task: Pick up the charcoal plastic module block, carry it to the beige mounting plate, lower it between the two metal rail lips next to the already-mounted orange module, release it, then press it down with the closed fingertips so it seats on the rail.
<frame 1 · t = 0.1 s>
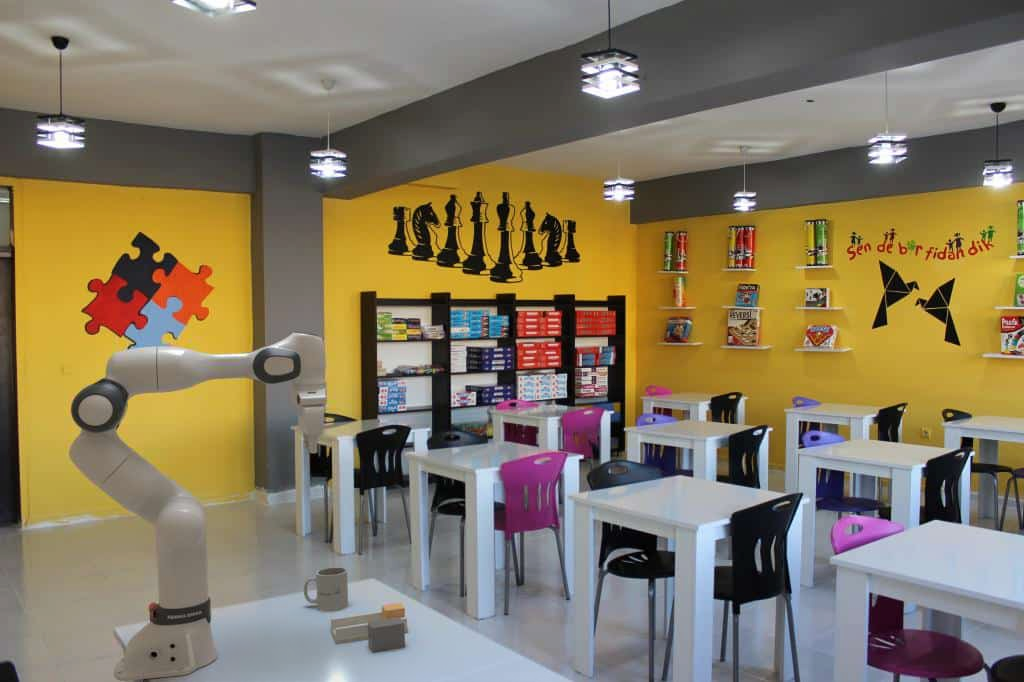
hand: (310, 450, 205), 48 cm above the table, fingers open, 8 cm apart
mug: (326, 606, 232), on the table
rail: (369, 631, 210), on the table
module: (386, 646, 199), on the table
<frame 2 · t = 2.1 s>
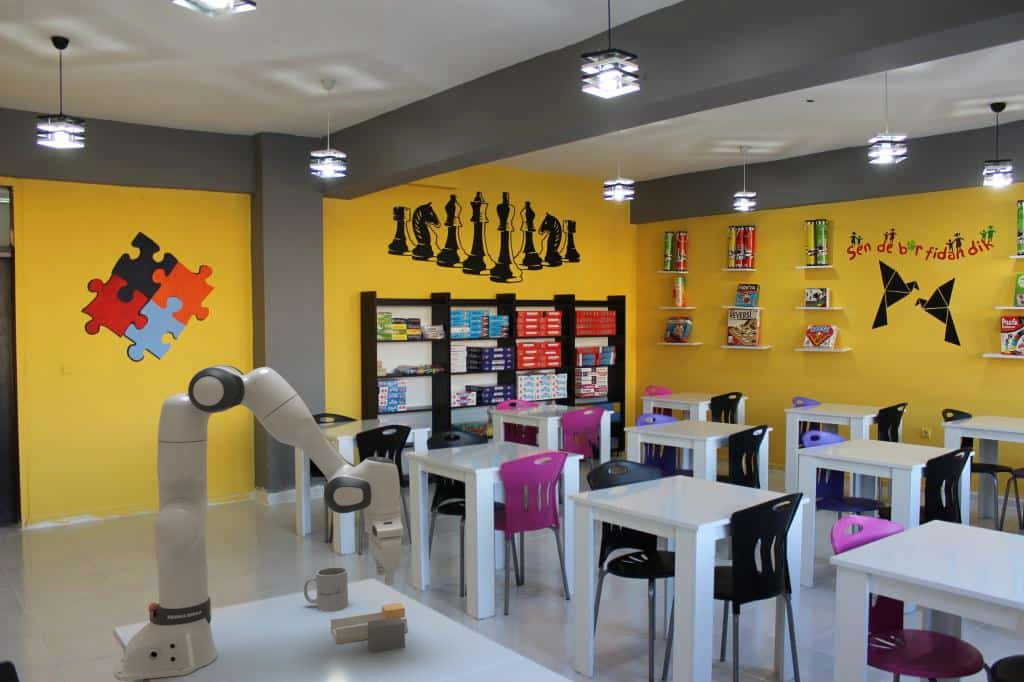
hand: (385, 579, 199), 16 cm above the table, fingers open, 8 cm apart
nothing on the table moved.
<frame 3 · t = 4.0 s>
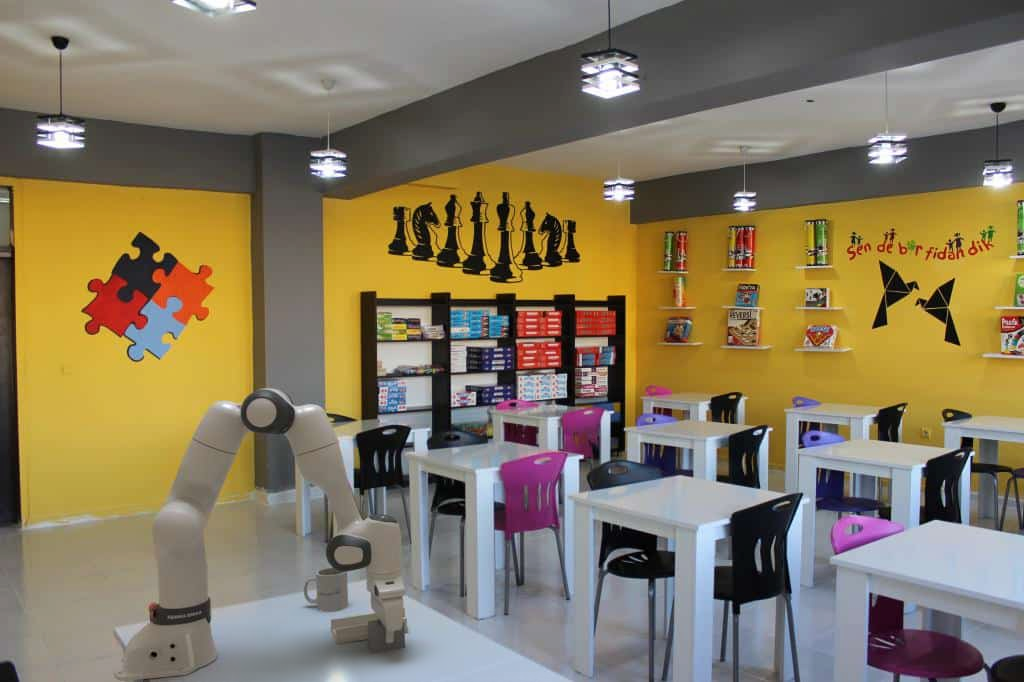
hand: (386, 637, 199), 2 cm above the table, fingers closed on module, 5 cm apart
module: (386, 646, 199), on the table, touching gripper
everything else where it was.
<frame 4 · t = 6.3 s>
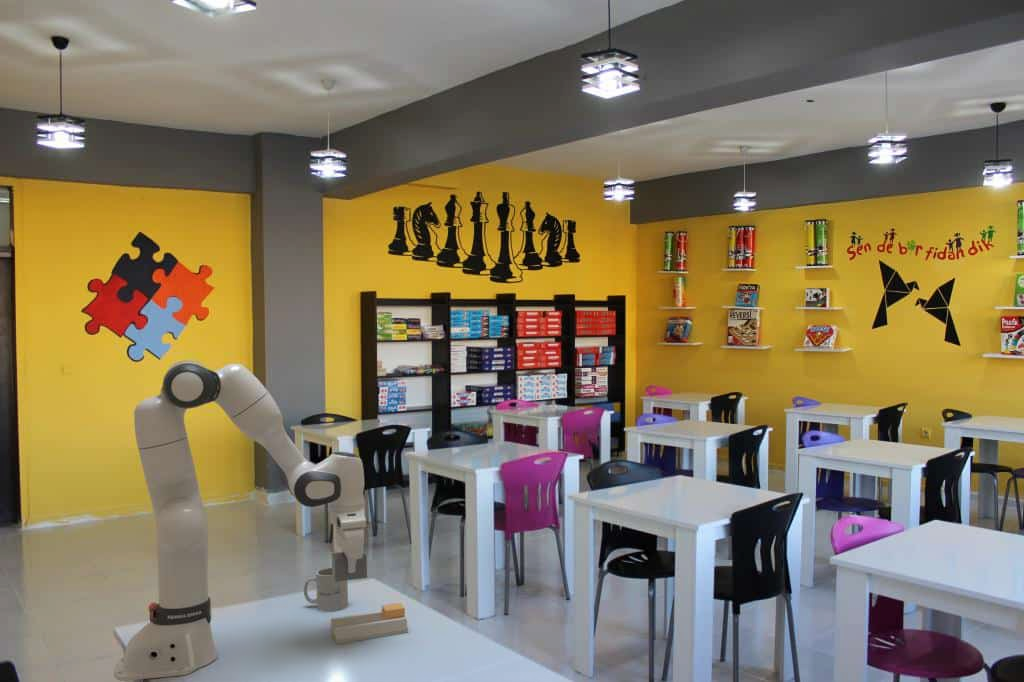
hand: (349, 568, 208), 17 cm above the table, fingers closed on module, 5 cm apart
module: (349, 577, 208), point 15 cm above the table, touching gripper
everything else where it was.
when the fingers open (5 cm above the table, at t = 9.0 s): module drops 1 cm, resting on rail.
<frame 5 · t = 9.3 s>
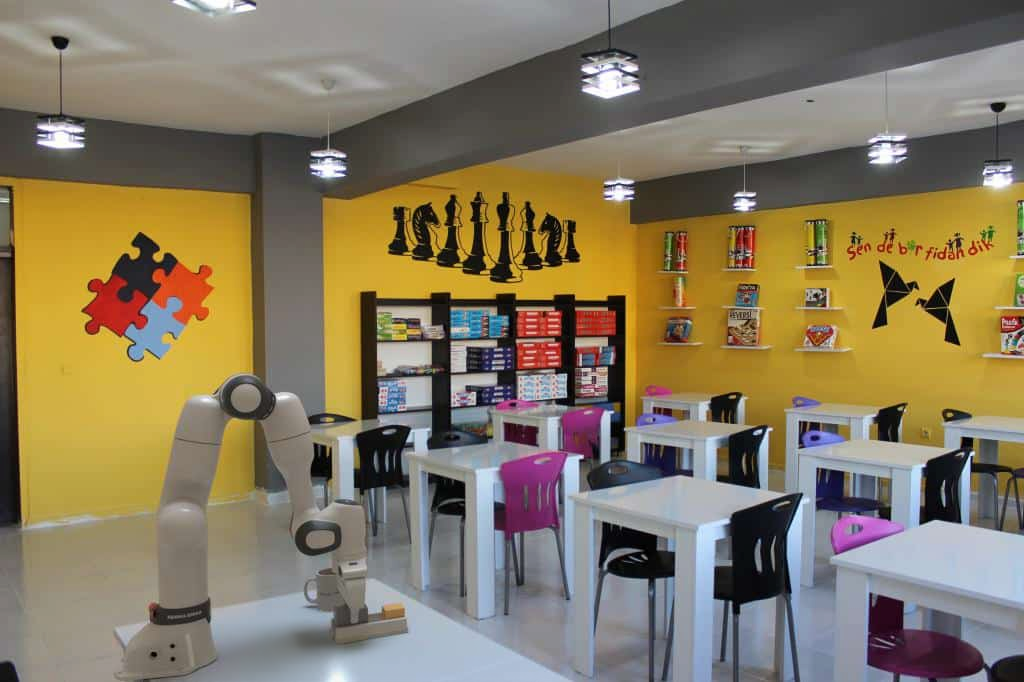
hand: (350, 616, 208), 5 cm above the table, fingers open, 8 cm apart
module: (351, 630, 208), point 1 cm above the table, touching rail
everything else where it was.
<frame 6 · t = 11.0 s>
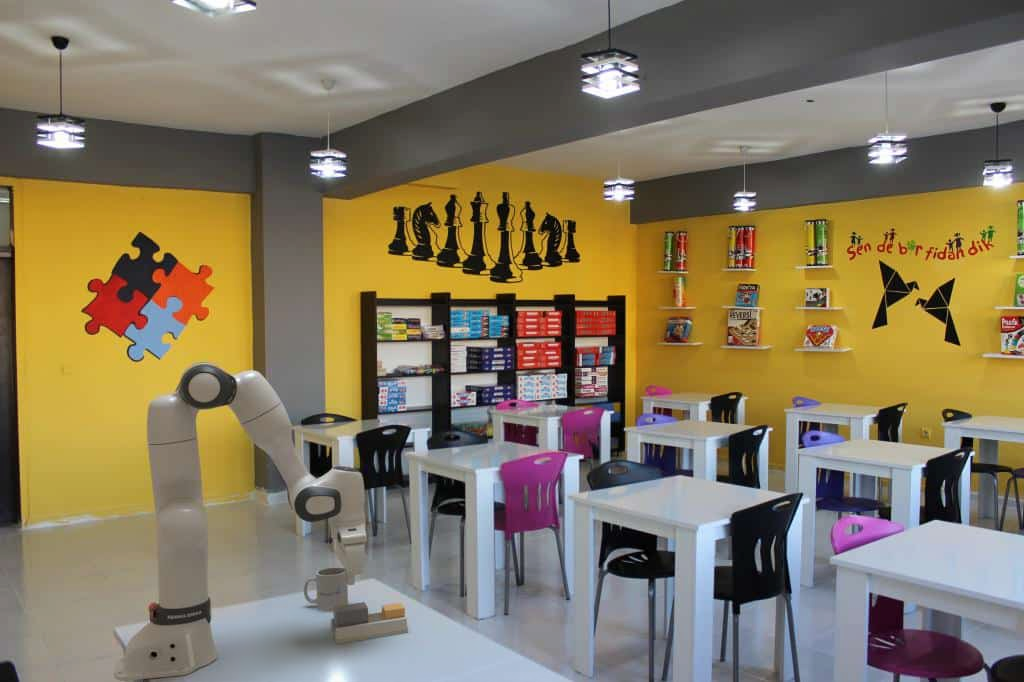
hand: (350, 583, 208), 13 cm above the table, fingers closed
nothing on the table moved.
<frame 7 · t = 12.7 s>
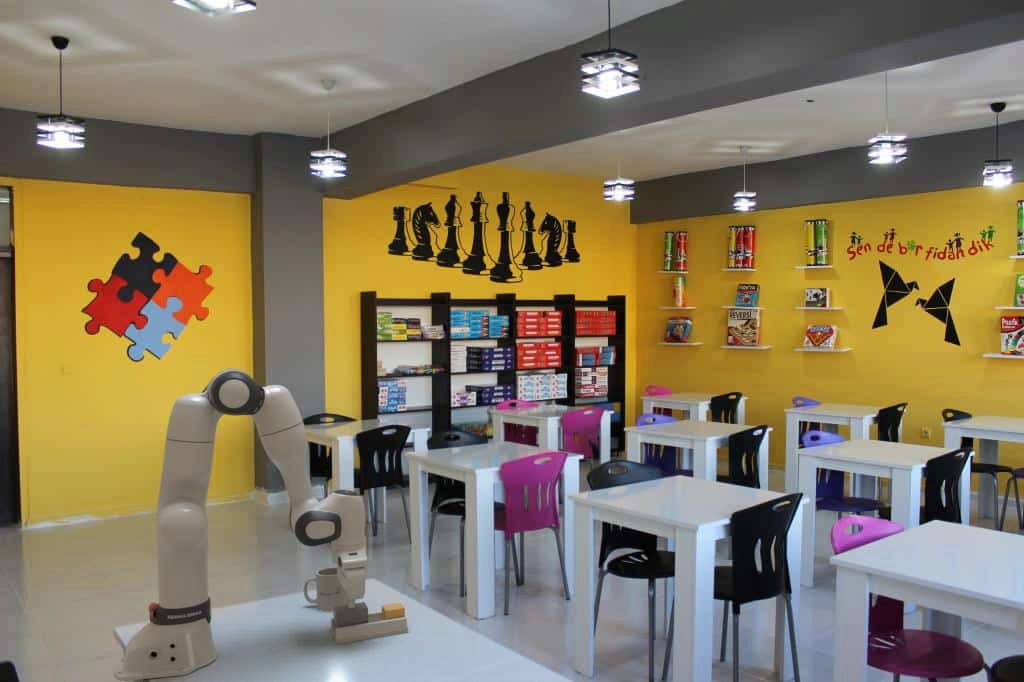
hand: (350, 607, 208), 7 cm above the table, fingers closed, pressing on module
module: (351, 630, 208), point 1 cm above the table, touching gripper, rail
everything else where it was.
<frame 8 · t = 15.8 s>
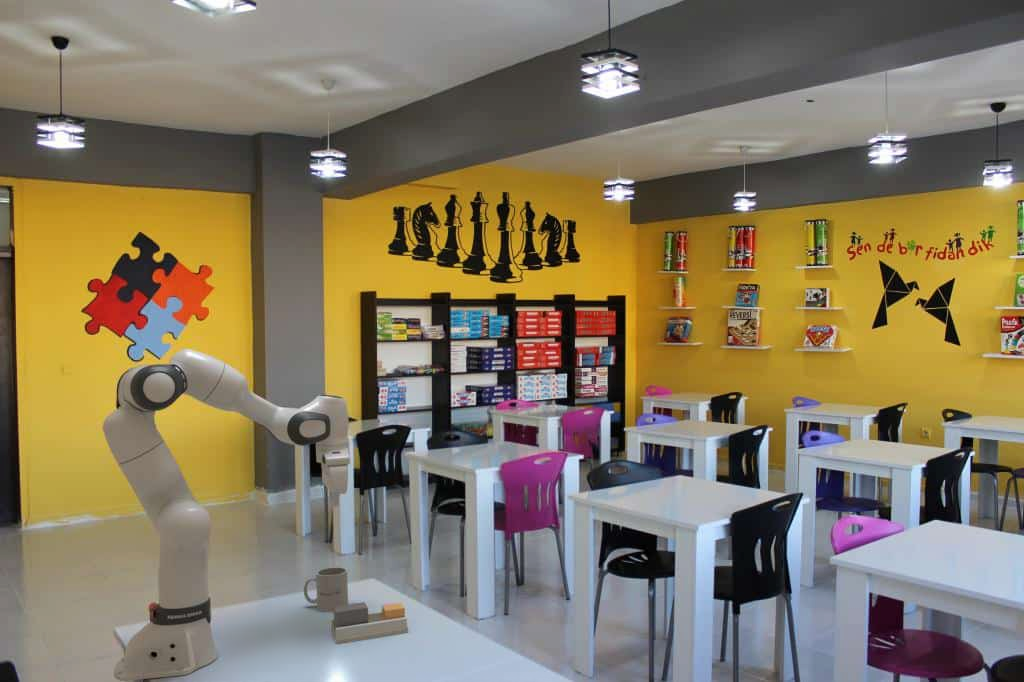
hand: (334, 505, 219), 31 cm above the table, fingers closed
module: (351, 630, 208), point 1 cm above the table, touching rail
everything else where it was.
at the end: module 0.1 cm from the target spot on the rail, point 1.0 cm above the rail's base; module tilted 0°; the gripper is holding nothing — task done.
